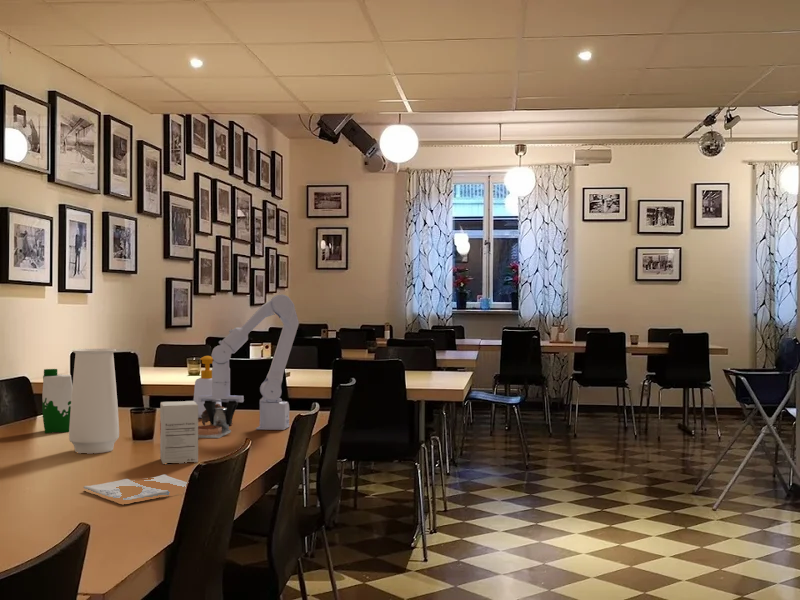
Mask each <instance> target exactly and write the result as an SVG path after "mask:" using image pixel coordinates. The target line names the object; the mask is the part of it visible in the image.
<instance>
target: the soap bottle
mask: <svg viewBox="0 0 800 600" xmlns="http://www.w3.org/2000/svg"><path fill="white" fill-rule="evenodd" d="M199 360H200V361H201V363H202V364H204V369H203V370H200V377H198V378H197V379H196V380H195V381H194V391H193V401H194V402H196V404H197V405H198V419H202V416H201V415H202V414H203V412H204V411H205V410H206V409H205V407H204V403H205V402H198V396H200V395H212V369H210V364H211V365H212V363H213V361H214V360H213V358H212V355H204V356H202V357H201V358H199ZM215 400H222V399H215ZM216 404H220V406H222V402H216Z"/></svg>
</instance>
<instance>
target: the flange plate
mask: <svg viewBox="0 0 800 600" xmlns="http://www.w3.org/2000/svg"><path fill="white" fill-rule="evenodd" d="M230 433H232V429H229V430H224V429H222V427H221V426H217V425H211V424H210V425H207V424H205V425H204V426H203V425H198V439H219V438H222V437H224V436H226V435H228V434H230Z"/></svg>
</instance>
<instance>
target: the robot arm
mask: <svg viewBox="0 0 800 600" xmlns="http://www.w3.org/2000/svg"><path fill="white" fill-rule="evenodd" d="M274 315H277V316H278V318H279V320H280V321H281V323H282V329H281V331H280V336H279V339H278V342H277V346H276V348H275V352H274V355H273V358H272V361H271V365H270V367H269V371H268V373H267V375H266V378H265V379H264V381H263V382H262V383H261V385H260V387H259V392H260V394H261V396H262V397H261V398H260V399H259V426H257V427H256V428H255V430H264V431H265V430H266V431H267V430H270V431H271V430H274V431H276V430H277V431H279V430H280V431H281V430H283V431H284V430H286V429H288V428H289V427H291V425H290V404H289V401H284V400H283V399H282V398H281V396H282V392H283V391H282V383H283V379H284V378H283V377H284V373H285V370H286V367H287V364H288V360H289V356H290V354H291V351H292V347H293V343H294V341H295V337H296V335H297V332H298V331H297V330H298V328H299V326H300V321H299V319H298V315H297V311H296V306H295V303H294V302H293V300H292V299H291V298H290V297H289V296H288V295H286V294H281V293H280V294H277V295H274V296H273V297H272V298H271V299H270V300H268V301H267V302H265V303H264V304H262V305H261V306H260V307H259V308H258V309H257V310H256V311H255V312H254V314H252V316H250V317H249V319H248V320H247V321H246V322H245V323H244V324H243V325H241V327H234V328H233V329H232V328H231V329H230V330H229V331H228V334H227V335H226V336H225V337H224V338H223V339H222V340H221V339H220V340H219V341H218V344H219V345H217V346H214V348H213V349H212V352H211V354H210V356H211V357H212V358H213V363H212V364H211V365H212V369H211V370H212V395H200V396H198V402H205V403H204V407H205V409H206V411H207V413H208V416H209V419H210V421H209V423H210V425H213V409H214V408H215V405H216V402H221V403H226V408H227V425H229V426H230V424H231V423H233V418H234V414H235V412H236V410H237V407H238V406H239V403H244V401H245V399H244V398H245V397H244V395H235V394H234V395H231V368H230V360H231V357H232V354H235V353H236V352H238V350H239V349H240V348H242V347H243V345H244V344H245V343H247V341H248V340H249V334H250V332H252V331H253V330H255V328H256V327H257V326H258V325H260V323H262V321H263V320H265V319H266V318H269V317H271V316H274ZM215 399H221V400H215Z"/></svg>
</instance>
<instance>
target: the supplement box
mask: <svg viewBox="0 0 800 600" xmlns="http://www.w3.org/2000/svg"><path fill="white" fill-rule="evenodd" d="M159 407H160V408H159V409H160V410H159V412H160V413H159V414H160V415H159V417H160V419H159V422H160V424H159V425H160V426H159V427H160V428H159V429H160V430H159V431H160V434H159V435H160V437H159V439H160V441H159V443H160V452H159V453H160V456H159V457H160V460H161V463H162V465H163V464H165V463H179V464H188V463H187V462H194V463H198V462H199V438H198V426H199V418H198V405H197V404H196V402H194V400H185V401H183V400H182V401H181V400H180V401H160V406H159ZM184 462H185V463H184ZM165 465H166V464H165Z"/></svg>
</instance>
